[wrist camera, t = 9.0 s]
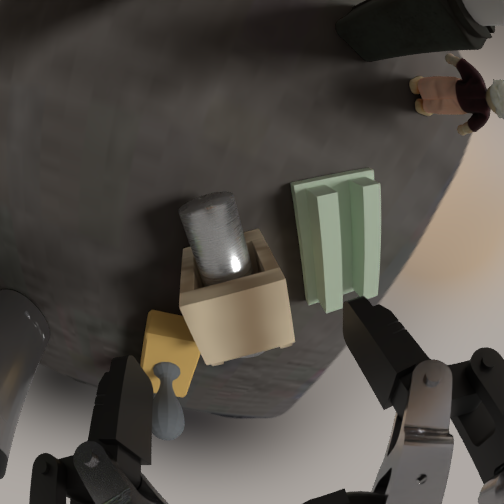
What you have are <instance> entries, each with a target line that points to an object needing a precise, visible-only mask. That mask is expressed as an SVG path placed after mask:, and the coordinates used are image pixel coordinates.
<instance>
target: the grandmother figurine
mask: <svg viewBox="0 0 504 504" xmlns="http://www.w3.org/2000/svg"><path fill="white" fill-rule="evenodd" d="M445 59H446V61H447V62H448V63H449V64H453V65H454V66H455V67H456V68H457V69H458V71H459V73H460V75H461V77H462V79H459V78H456V77H442V76H434V77H425V78H424V77H421V76H418V77H416V78H414V79H412V80H410V82H409V86H410V89H411V91H412V93H414V94H421V97H422V99H417V100H416V101H415V109H416V111H417V112H418V113H420V114H423V115H425V116H431V115H432V114H451V115H458V114H460V115H461V114H466V113H472V114H473V115H472V116H471V118H470V119H469V120H468V122H466V123H464V124H463V125H459V126H458V128H457V130H458V133H459V134H460V135H466V134H467V133H472V132H476V131H477V130H479V129H480V128H481V127H483V126H484V125H485V123H486V122H487V120H488V119H489V116H490V109H491V110H492V111H493V112H495V113H496V114H497V115H498V117H499V118H503V119H504V80H494V79H493V84H492V85H491V86H490V87H489V88H488V89H486V86H485V83H484V80H483V78H482V76H481V75H480V73H479V72H478V71H477V70H476V69H475V68H474V67H473V66H472V65H471V64H470V63H468V62H467V61H466V60H465V59H463V58H461V59H460V58H458V57H455V56H454V55H452V54H450V53H448V54H447V55H446V56H445Z"/></svg>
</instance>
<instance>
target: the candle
mask: <svg viewBox="0 0 504 504" xmlns="http://www.w3.org/2000/svg"><path fill="white" fill-rule="evenodd" d="M495 25H504V0H366V1H364V2H362V3H360V4H358V5H356V6H354V7H353V10H352V11H351V12H350V13H349V14H348V15H347V16H346V17H344V18H342V19H340V20H338V21H337V23H336V31H337V33H338V34H339V35H340V37H341V38H343V39H344V40H345V41H346V42H347V43H348V44H349V45H350V46H351V47H352V48H353V49H354V50H355V51H356V52H357V53H358V54H359V55H360V57H362V58H363V59H364V60H366V61H369V62H372V61H377V60H382V59H388V58H393V57H399V56H406V55H413V54H421V53H429V52H440V51H453V50H478V49H481V48H482V46H483V45H484V43H485V41H486V39H487V38H491V37H492V36H491V34H490V33H494V32H495Z"/></svg>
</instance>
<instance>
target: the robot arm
mask: <svg viewBox="0 0 504 504" xmlns="http://www.w3.org/2000/svg"><path fill="white" fill-rule="evenodd" d="M343 335H344V339H345V342H346V344H347V346H348V348H349V350H350V351H351V353H352V355H353V356H354V358H355V360H356V361H357V363H358V365H359V367H360V368H361V370H362V372H363V374H364V375H365V377H366V379H367V381H368V382H369V384H370V386H371V388H372V390H373V391H374V393H375V395H376V397H377V398H378V400H379V402H380V404H381V405H382V407H383V409H384V410H385V409H387V408H389V407H391V406H393V407H394V408H395V410H396V415H395V419H394V423H393V428H392V432H391V436H390V440H389V443H388V447H387V451H386V454H385V458H384V460H383V463H382V465H381V467H380V469H379V472H378V474H377V477H376V480H375V483H374V486H373V488H372V491H371V492H362V491H358V492H345V489H342V490H339V491H336V492H333V493H330V494H327V495H324V496H321V497H318V498H314V499H311V500H309V501H307V502H305V503H303V504H442V499H443V496H444V492H445V488H446V483H447V479H448V474H449V470H450V464H451V459H452V452H453V445H454V439H453V436H452V435H451V434H449V424H450V418H451V420H452V422H453V423H454V425H455V427H456V429H457V430H458V433H459V435H460V436H461V438H462V440H463V442H464V444H465V446H466V448H467V450H468V452H469V454H470V456H471V458H472V460H473V462H474V464H475V466H476V468H477V470H478V472H479V475H480V477H481V479H482V481H483V483H484V486H483V487H482V489H481V492H480V495H479V498H478V503H479V504H504V359H503V358H502V357H501V355H500V354H499V353H498V352H497V351H495V350H494V349H491V348H480V349H478V350H476V351H475V352H474V354H473V355H472V357H471V359H470V360H469V361H465V362H461V363H457V364H452V365H446V364H444V363H443V362H441V361H438V360H431V359H429V357H428V356H427V355H426V354H425V353H424V351H423V350H422V349H421V348H420V346H419V345H418V344H417V343H416V341H415V340H414V339H413V337H412V336H411V335H410V334H409V332H407V330H405V328H404V326H403V325H402V324H401V323H400V322H398V319H397V318H396V317H395V316H394V314H393V313H392V312H391V311H390V310H388V309H386V308H385V307H383V306H381V305H379V304H378V305H376V306H372V305H371V303H370V302H369V301H368V300H367V298H366V297H364V296H360V297H357V298H354V299H351V300H348V301H346V302H344V304H343ZM49 339H50V331H49V327H48V324H47V321H46V320H45V318H44V316H43V314H42V313H41V312H40V310H39V309H38V308H37V307H36V306H35V305H34V304H33V303H32V302H31V301H30V300H29V299H28V298H27V297H25V296H23V295H22V294H20V293H18V292H16V291H14V290H9V289H3V290H0V479H2V478H3V477H4V475H5V471H6V467H7V462H8V458H9V453H10V448H11V445H12V441H13V437H14V433H15V429H16V426H17V423H18V419H19V416H20V413H21V410H22V407H23V403H24V401H25V398H26V395H27V392H28V389H29V387H30V384H31V382H32V379H33V376H34V374H35V371H36V369H37V366H38V364H39V362H40V359H41V357H42V355H43V352H44V350H45V348H46V346H47V343H48V341H49ZM152 411H153V386H152V383H151V380H150V379H149V377H148V376H147V374H146V373H145V372H144V370H143V369H142V367H141V366H140V365H139V363H138V362H137V360H136V359H135V358H134V356H132V355H129V356H123V357H116V358H113V360H112V362H111V367H110V371H109V372H106V373H105V374H104V376H103V377H102V379H101V381H100V382H99V385H98V390H97V397H96V399H95V406H94V409H93V414H92V420H91V426H90V431H89V437H88V441H87V442H84V443H82V444H81V445H79V447H77V449H76V451H75V453H74V455H73V456H69V457H65V458H61V459H56V458H55V457H53V456H52V455H51V454H48V453H43V454H41V455H39V456H38V457H37V458H36V460H35V462H34V464H33V469H32V478H31V488H30V503H29V504H66V497H68V498H70V500H71V501H70V504H168V503H167V502H166V500H165V499H164V498H163V497H162V496H161V495H160V494H159V493H158V492H157V490H156V489H155V488H154V487H153V486H152V484H151V483H150V482H149V481H148V480H147V478H146V477H145V476H144V475H143V474H142V473H141V465H151V439H152V436H151V435H152ZM419 483H420V484H419Z"/></svg>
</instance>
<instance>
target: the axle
mask: <svg viewBox="0 0 504 504" xmlns="http://www.w3.org/2000/svg"><path fill="white" fill-rule="evenodd" d="M178 212H179V215H180V218H181V221H182V224H183V227H184V230H185V233H186V235H187V238H188V241H189V244H190V247H191V249H192V252H193V255H194V258H195V260H196V263H197V266H198V268H199V271H200V274H201V276H202V279H203V282H204V284H205V287H208V286H211V285H215V284H219V283H223V282H227V281H231V280H234V279H238V278H242V277H246V276H249V275H253V274H254V271H253V267H252V263H251V260H250V256H249V252H248V248H247V244H246V241H245V237H244V233H243V229H242V225H241V222H240V218H239V214H238V210H237V206H236V203H235V199H234V195H233V193H231V192H216V193H210V194H207V195H203V196H200V197H197V198H195V199H193V200H191V201H189V202H187V203H185V204H184V205H182V206H181V207H180V208H179V210H178ZM263 352H264V351H262V352H258V353H255V354H251V355H247V356H243V357H244V358H250V357H255V356H258V355H260V354H261V353H263Z"/></svg>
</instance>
